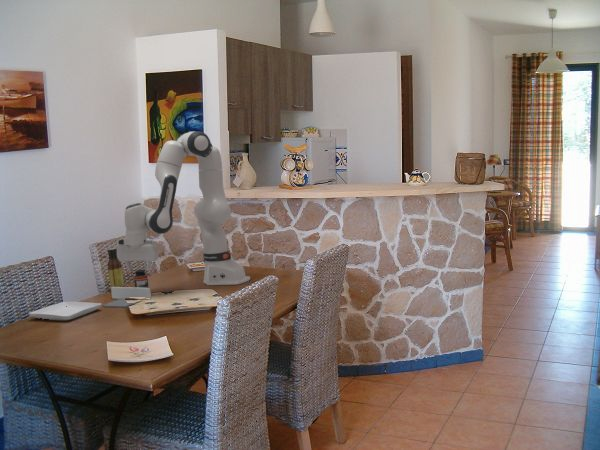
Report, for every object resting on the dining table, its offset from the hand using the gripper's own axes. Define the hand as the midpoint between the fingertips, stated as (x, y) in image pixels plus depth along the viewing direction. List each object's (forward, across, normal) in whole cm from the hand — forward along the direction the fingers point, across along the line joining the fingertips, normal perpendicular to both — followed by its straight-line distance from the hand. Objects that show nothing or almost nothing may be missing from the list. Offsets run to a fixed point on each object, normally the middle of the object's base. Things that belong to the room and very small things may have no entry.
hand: (138, 270), depth 325 cm
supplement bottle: (+12, 0, -1) cm, 12 cm away
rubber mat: (+12, -2, +15) cm, 19 cm away
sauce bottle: (+12, +20, -9) cm, 24 cm away
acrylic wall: (+11, 0, +6) cm, 13 cm away
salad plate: (+13, +12, +35) cm, 39 cm away
